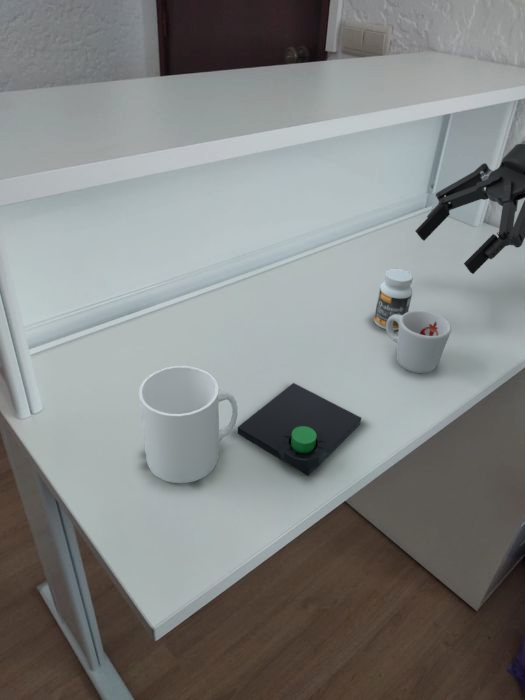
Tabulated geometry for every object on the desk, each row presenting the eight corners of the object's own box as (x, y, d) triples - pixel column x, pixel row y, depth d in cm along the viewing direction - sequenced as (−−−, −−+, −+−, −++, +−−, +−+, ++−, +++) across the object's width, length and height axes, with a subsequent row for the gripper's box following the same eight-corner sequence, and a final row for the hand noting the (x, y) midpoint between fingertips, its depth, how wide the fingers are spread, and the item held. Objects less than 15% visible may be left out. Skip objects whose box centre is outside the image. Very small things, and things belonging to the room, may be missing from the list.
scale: (363, 426, 82) (366, 410, 81) (307, 483, 73) (309, 467, 72) (292, 389, 89) (294, 373, 87) (232, 437, 79) (232, 421, 78)
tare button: (320, 443, 75) (321, 433, 74) (306, 457, 73) (307, 447, 72) (300, 432, 77) (301, 422, 76) (285, 445, 75) (286, 435, 74)
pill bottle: (371, 328, 104) (380, 279, 98) (376, 312, 108) (384, 264, 102) (403, 334, 102) (414, 285, 97) (406, 318, 107) (417, 270, 101)
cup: (368, 353, 97) (375, 313, 92) (397, 337, 101) (405, 297, 97) (421, 385, 91) (432, 343, 86) (450, 366, 95) (461, 325, 90)
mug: (133, 452, 76) (124, 383, 70) (209, 417, 83) (208, 350, 76) (169, 498, 70) (163, 427, 64) (249, 456, 77) (251, 388, 70)
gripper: (476, 123, 104) (392, 212, 107) (589, 166, 85) (483, 272, 89) (492, 150, 109) (410, 235, 112) (601, 197, 90) (500, 296, 94)
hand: (442, 251), depth 101 cm, fingers open, 13 cm apart
